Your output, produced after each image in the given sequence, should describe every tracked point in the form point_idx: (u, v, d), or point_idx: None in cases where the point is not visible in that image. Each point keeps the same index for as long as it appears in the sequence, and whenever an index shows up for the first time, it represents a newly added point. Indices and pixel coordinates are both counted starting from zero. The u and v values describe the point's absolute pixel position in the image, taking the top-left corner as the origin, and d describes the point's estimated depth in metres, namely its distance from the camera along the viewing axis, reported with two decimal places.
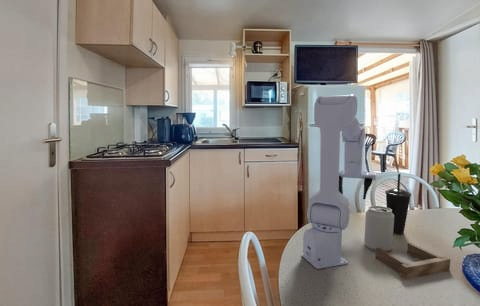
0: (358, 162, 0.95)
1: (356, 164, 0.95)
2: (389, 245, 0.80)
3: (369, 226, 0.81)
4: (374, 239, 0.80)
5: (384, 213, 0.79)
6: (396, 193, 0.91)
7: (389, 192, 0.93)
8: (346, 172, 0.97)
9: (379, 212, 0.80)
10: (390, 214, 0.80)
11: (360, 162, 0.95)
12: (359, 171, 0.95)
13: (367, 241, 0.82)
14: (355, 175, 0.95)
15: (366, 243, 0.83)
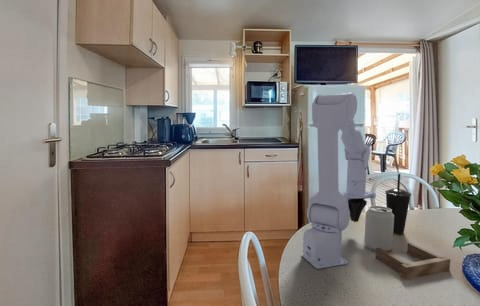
0: (365, 181, 0.90)
1: (364, 183, 0.89)
2: (389, 245, 0.80)
3: (369, 226, 0.81)
4: (374, 239, 0.80)
5: (384, 213, 0.79)
6: (396, 193, 0.91)
7: (389, 192, 0.93)
8: (355, 193, 0.89)
9: (379, 212, 0.80)
10: (390, 214, 0.80)
11: None
12: None
13: (367, 241, 0.82)
14: (364, 195, 0.90)
15: (366, 243, 0.83)
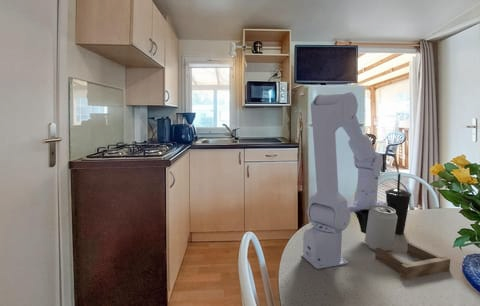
0: None
1: (376, 193, 0.85)
2: (390, 246, 0.80)
3: (371, 225, 0.80)
4: (375, 238, 0.80)
5: (388, 214, 0.78)
6: (396, 193, 0.91)
7: (389, 192, 0.93)
8: (366, 204, 0.85)
9: (383, 213, 0.78)
10: (394, 215, 0.78)
11: None
12: (376, 201, 0.86)
13: (368, 240, 0.82)
14: None
15: (367, 242, 0.82)
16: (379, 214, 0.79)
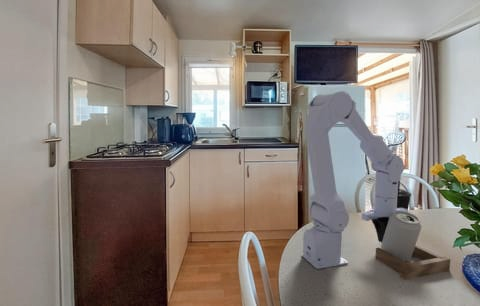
0: None
1: (396, 200, 0.78)
2: (409, 256, 0.73)
3: (391, 234, 0.74)
4: (394, 248, 0.73)
5: (411, 224, 0.71)
6: None
7: None
8: (385, 211, 0.78)
9: (406, 222, 0.71)
10: (418, 225, 0.71)
11: None
12: None
13: (385, 247, 0.76)
14: None
15: (383, 249, 0.76)
16: (402, 223, 0.71)
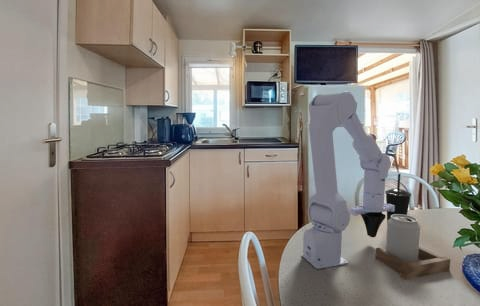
0: None
1: (383, 196, 0.82)
2: (415, 259, 0.72)
3: (392, 237, 0.73)
4: (397, 251, 0.72)
5: (409, 223, 0.71)
6: (396, 193, 0.91)
7: (389, 192, 0.93)
8: (372, 207, 0.82)
9: (403, 222, 0.72)
10: (416, 224, 0.72)
11: None
12: (383, 204, 0.84)
13: None
14: (382, 209, 0.82)
15: None
16: (400, 223, 0.72)
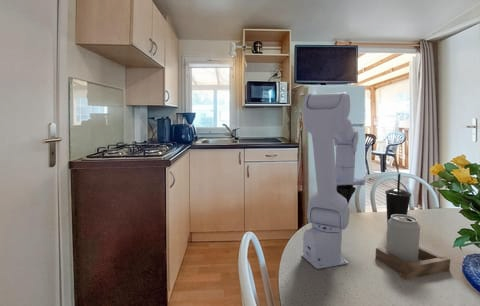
0: (354, 167, 0.87)
1: (353, 169, 0.87)
2: (415, 259, 0.72)
3: (392, 237, 0.73)
4: (397, 251, 0.72)
5: (409, 223, 0.71)
6: (396, 193, 0.91)
7: (389, 192, 0.93)
8: (343, 180, 0.87)
9: (403, 222, 0.72)
10: (416, 224, 0.72)
11: None
12: None
13: None
14: (352, 181, 0.87)
15: None
16: (400, 223, 0.72)
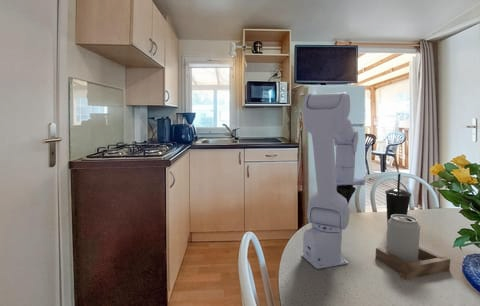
0: (354, 167, 0.87)
1: (353, 169, 0.87)
2: (415, 259, 0.72)
3: (392, 237, 0.73)
4: (397, 251, 0.72)
5: (409, 223, 0.71)
6: (396, 193, 0.91)
7: (389, 192, 0.93)
8: (343, 180, 0.87)
9: (403, 222, 0.72)
10: (416, 224, 0.72)
11: None
12: None
13: None
14: (352, 181, 0.87)
15: None
16: (400, 223, 0.72)
